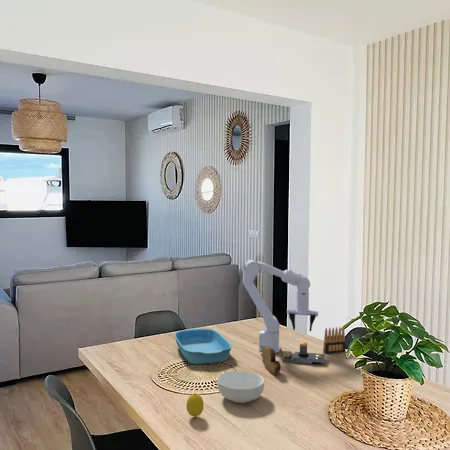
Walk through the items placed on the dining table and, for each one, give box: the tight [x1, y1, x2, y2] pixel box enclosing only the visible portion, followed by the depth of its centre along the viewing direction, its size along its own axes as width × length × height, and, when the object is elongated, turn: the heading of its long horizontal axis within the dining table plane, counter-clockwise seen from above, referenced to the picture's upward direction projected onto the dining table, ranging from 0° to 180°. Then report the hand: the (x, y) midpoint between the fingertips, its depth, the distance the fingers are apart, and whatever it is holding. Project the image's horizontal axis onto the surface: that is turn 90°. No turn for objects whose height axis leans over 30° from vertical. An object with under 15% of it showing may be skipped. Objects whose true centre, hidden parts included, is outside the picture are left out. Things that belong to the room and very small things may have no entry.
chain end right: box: [293, 351, 326, 365], centre depth 198 cm, size 13×8×3 cm, turn 75°
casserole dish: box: [174, 327, 233, 365], centre depth 208 cm, size 37×22×7 cm, turn 18°
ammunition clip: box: [322, 326, 347, 355], centre depth 210 cm, size 11×2×12 cm, turn 105°
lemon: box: [186, 392, 204, 419], centre depth 146 cm, size 6×6×8 cm
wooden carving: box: [260, 346, 282, 376], centre depth 187 cm, size 16×5×10 cm, turn 21°
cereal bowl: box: [216, 370, 265, 404], centre depth 160 cm, size 17×17×7 cm
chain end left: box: [281, 350, 313, 365], centre depth 200 cm, size 13×8×3 cm, turn 75°
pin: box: [299, 341, 308, 357], centre depth 199 cm, size 3×3×8 cm
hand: (302, 330), depth 214 cm, fingers open, 7 cm apart
